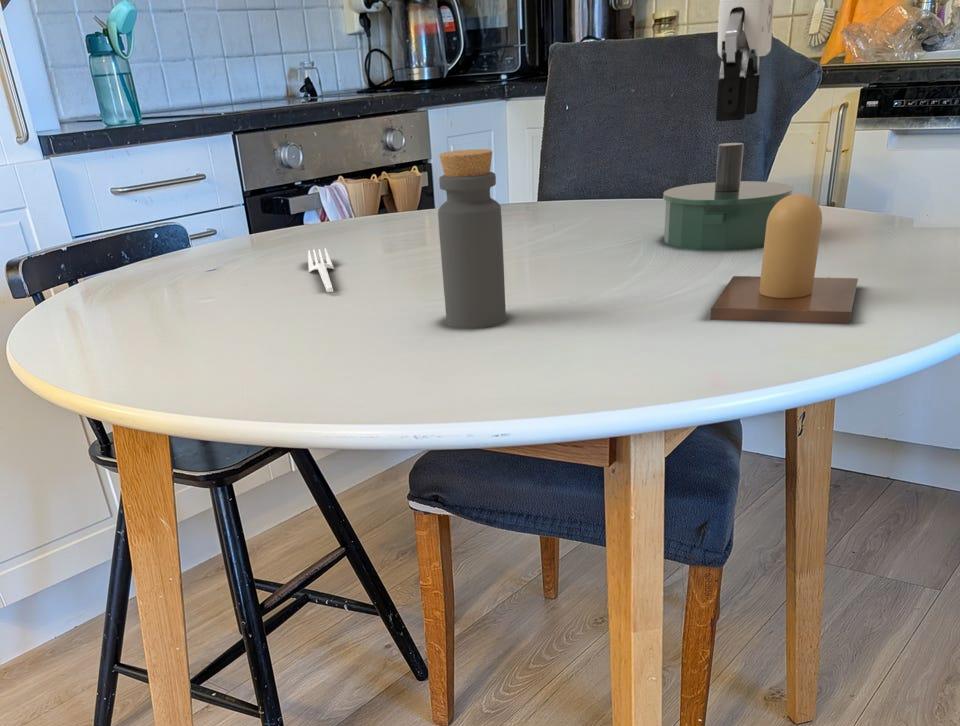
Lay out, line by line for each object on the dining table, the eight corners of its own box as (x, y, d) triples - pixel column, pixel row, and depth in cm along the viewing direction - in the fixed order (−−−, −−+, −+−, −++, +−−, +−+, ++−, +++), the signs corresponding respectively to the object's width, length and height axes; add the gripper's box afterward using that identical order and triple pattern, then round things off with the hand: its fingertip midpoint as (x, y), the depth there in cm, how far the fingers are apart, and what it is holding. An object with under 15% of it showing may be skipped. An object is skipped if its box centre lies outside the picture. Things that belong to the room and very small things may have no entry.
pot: (790, 228, 117) (796, 182, 114) (772, 260, 101) (778, 208, 98) (681, 228, 122) (684, 184, 119) (648, 258, 106) (650, 209, 103)
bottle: (514, 318, 87) (507, 147, 79) (494, 334, 82) (484, 154, 74) (460, 316, 89) (448, 149, 81) (437, 332, 84) (422, 156, 76)
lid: (797, 190, 112) (804, 135, 109) (784, 210, 100) (791, 149, 97) (676, 192, 117) (679, 139, 114) (650, 211, 106) (652, 153, 102)
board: (855, 294, 86) (858, 278, 86) (848, 329, 77) (851, 311, 76) (731, 291, 91) (733, 275, 90) (709, 324, 81) (711, 307, 80)
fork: (316, 297, 101) (314, 279, 99) (307, 265, 117) (304, 250, 116) (344, 293, 101) (342, 276, 100) (331, 262, 117) (329, 247, 116)
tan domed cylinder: (814, 287, 84) (827, 189, 79) (809, 299, 80) (823, 197, 75) (762, 285, 85) (773, 190, 81) (755, 297, 82) (766, 198, 77)
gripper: (777, -80, 86) (760, 120, 96) (794, -65, 99) (778, 110, 109) (700, -69, 89) (691, 125, 98) (727, -56, 102) (716, 114, 111)
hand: (736, 117), depth 103 cm, fingers open, 9 cm apart
